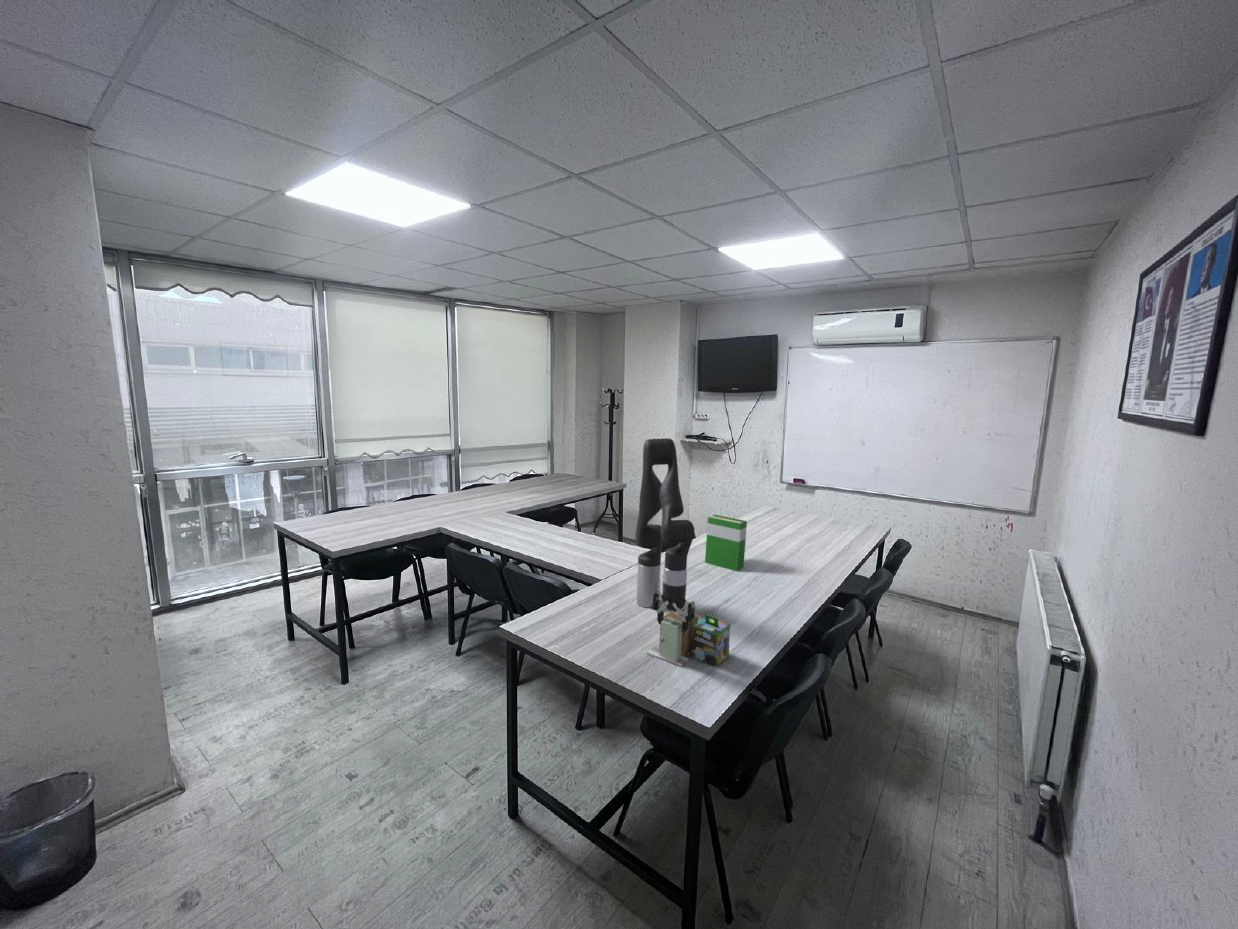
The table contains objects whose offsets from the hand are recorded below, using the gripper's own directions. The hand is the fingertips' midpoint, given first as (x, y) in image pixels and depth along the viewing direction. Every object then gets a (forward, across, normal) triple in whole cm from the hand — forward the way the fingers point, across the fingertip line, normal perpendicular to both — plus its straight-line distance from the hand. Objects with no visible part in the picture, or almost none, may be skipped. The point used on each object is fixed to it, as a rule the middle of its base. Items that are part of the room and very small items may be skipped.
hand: (672, 627), depth 162 cm
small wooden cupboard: (+11, +1, -4) cm, 12 cm away
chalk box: (+11, -10, -8) cm, 17 cm away
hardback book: (+12, +19, -93) cm, 96 cm away
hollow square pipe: (+10, 0, 0) cm, 10 cm away
